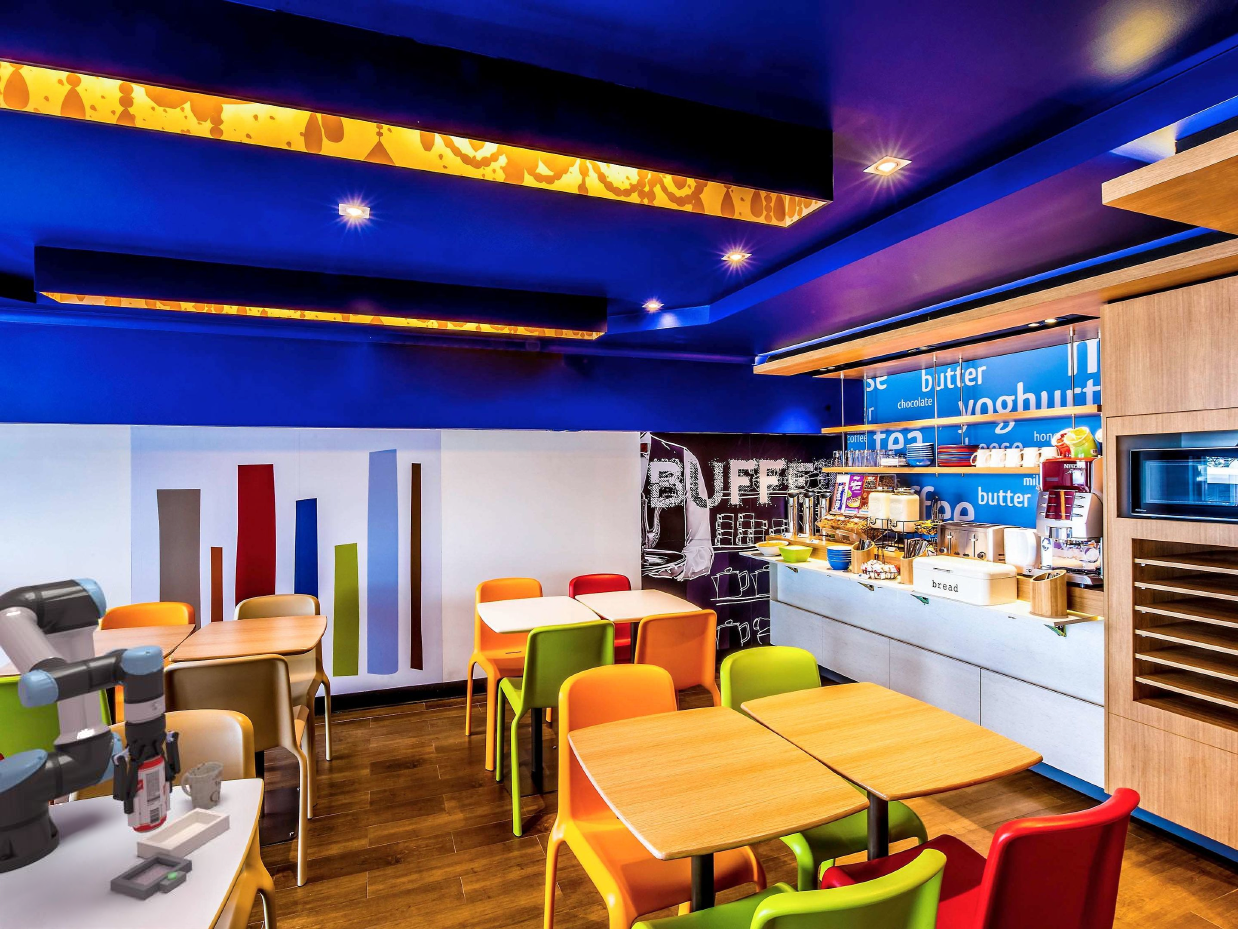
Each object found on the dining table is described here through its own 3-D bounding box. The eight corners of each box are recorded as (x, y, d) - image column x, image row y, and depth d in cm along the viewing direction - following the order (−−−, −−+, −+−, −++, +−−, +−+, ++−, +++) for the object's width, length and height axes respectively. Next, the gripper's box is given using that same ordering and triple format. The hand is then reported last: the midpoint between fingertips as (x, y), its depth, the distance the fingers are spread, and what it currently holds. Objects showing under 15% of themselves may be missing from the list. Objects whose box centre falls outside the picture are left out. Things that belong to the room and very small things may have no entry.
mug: (206, 814, 174) (205, 777, 174) (167, 810, 176) (166, 774, 176) (231, 798, 182) (229, 763, 182) (193, 794, 185) (192, 759, 184)
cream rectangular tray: (137, 856, 156) (136, 841, 156) (197, 821, 171) (197, 807, 171) (171, 864, 153) (170, 850, 152) (229, 828, 167) (229, 814, 167)
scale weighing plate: (124, 886, 145) (124, 882, 145) (156, 866, 152) (156, 863, 152) (147, 892, 143) (147, 889, 143) (178, 872, 149) (178, 869, 149)
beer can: (140, 838, 143) (137, 766, 142) (127, 829, 146) (124, 759, 146) (172, 823, 148) (169, 754, 148) (159, 816, 151) (156, 748, 151)
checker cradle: (110, 890, 144) (110, 879, 144) (159, 861, 154) (158, 850, 154) (152, 903, 139) (151, 891, 139) (199, 871, 150) (199, 861, 150)
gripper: (111, 736, 136) (116, 845, 137) (197, 702, 154) (201, 798, 155) (87, 732, 139) (92, 839, 139) (174, 699, 157) (178, 793, 157)
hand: (149, 817), depth 147 cm, fingers closed on beer can, 6 cm apart
